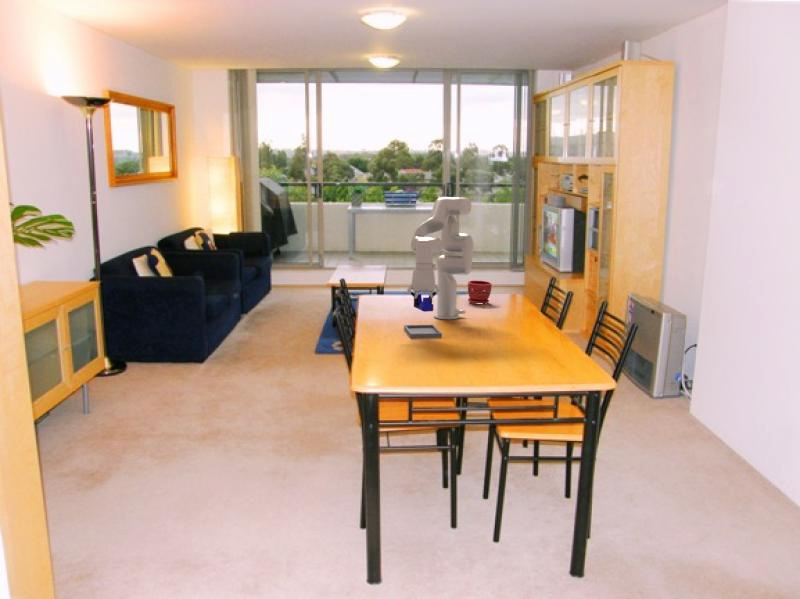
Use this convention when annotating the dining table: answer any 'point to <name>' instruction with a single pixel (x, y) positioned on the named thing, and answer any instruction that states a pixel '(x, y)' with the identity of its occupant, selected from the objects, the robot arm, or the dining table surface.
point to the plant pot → (479, 291)
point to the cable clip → (424, 304)
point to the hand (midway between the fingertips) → (422, 306)
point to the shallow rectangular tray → (422, 331)
